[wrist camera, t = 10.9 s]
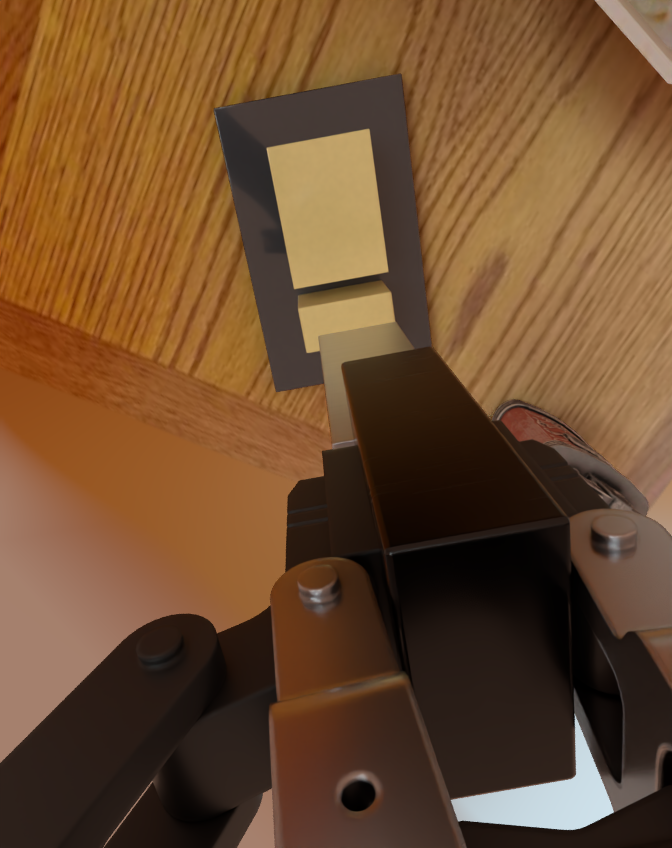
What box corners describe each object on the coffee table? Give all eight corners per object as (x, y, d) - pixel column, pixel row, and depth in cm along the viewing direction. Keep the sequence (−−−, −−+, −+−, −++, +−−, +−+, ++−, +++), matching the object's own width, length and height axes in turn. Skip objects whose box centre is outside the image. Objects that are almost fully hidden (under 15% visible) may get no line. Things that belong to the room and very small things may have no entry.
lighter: (601, 446, 42) (688, 523, 32) (569, 483, 43) (645, 568, 33) (512, 388, 40) (577, 451, 30) (481, 428, 40) (535, 502, 31)
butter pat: (305, 336, 36) (306, 353, 32) (298, 295, 35) (297, 308, 32) (387, 321, 36) (397, 337, 32) (381, 279, 35) (391, 291, 31)
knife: (327, 388, 23) (387, 814, 8) (308, 286, 22) (336, 559, 6) (403, 374, 23) (617, 774, 8) (389, 271, 22) (621, 509, 6)
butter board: (276, 386, 39) (273, 415, 34) (215, 110, 32) (201, 98, 28) (430, 358, 38) (448, 384, 34) (398, 76, 32) (415, 58, 28)
